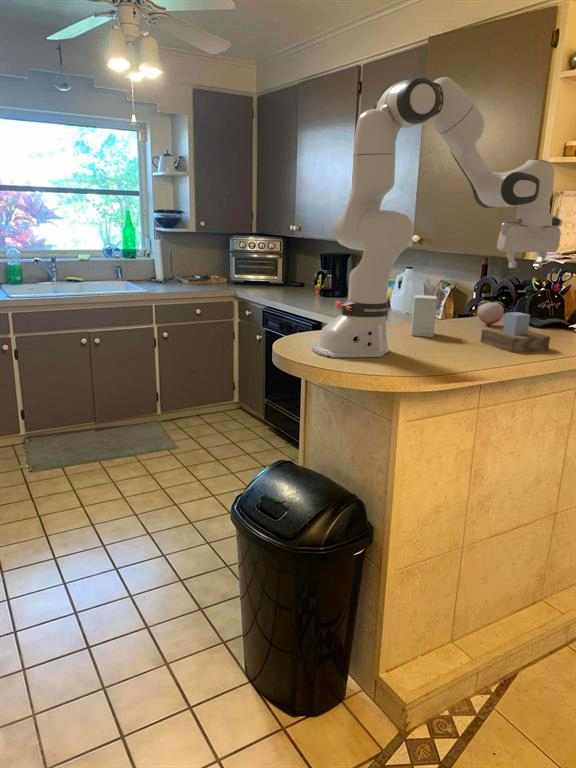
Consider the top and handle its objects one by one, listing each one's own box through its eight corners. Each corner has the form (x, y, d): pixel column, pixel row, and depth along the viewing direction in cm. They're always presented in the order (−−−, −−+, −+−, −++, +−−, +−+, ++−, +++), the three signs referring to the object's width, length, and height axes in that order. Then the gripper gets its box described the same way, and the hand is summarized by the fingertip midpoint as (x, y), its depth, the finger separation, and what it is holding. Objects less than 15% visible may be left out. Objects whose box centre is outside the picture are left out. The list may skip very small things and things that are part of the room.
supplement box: (433, 337, 188) (437, 298, 184) (410, 335, 189) (414, 297, 186) (432, 333, 195) (436, 295, 191) (410, 331, 196) (414, 294, 193)
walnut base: (511, 352, 170) (513, 338, 169) (480, 342, 183) (482, 329, 182) (548, 349, 175) (550, 336, 174) (515, 339, 188) (517, 327, 186)
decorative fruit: (480, 327, 207) (483, 299, 204) (473, 323, 215) (476, 296, 212) (506, 328, 207) (510, 300, 204) (498, 324, 215) (501, 297, 212)
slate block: (514, 335, 175) (517, 315, 173) (503, 331, 179) (505, 312, 177) (527, 334, 176) (530, 314, 175) (515, 331, 181) (518, 312, 179)
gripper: (510, 218, 162) (503, 268, 166) (566, 220, 169) (559, 268, 173) (495, 218, 167) (489, 266, 171) (550, 220, 174) (543, 266, 178)
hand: (524, 267), depth 172 cm, fingers open, 8 cm apart
